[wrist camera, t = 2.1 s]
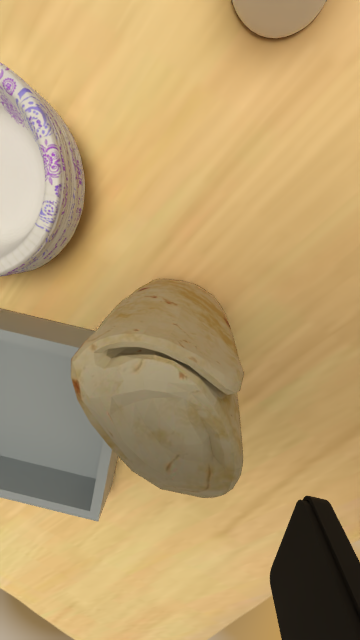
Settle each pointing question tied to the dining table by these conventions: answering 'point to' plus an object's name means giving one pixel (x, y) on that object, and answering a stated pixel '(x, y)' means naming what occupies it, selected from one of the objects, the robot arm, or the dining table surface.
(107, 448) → the bin
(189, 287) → the food model
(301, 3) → the milk bottle
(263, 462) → the dining table surface
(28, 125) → the paper bowls
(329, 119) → the dining table surface
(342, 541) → the robot arm
